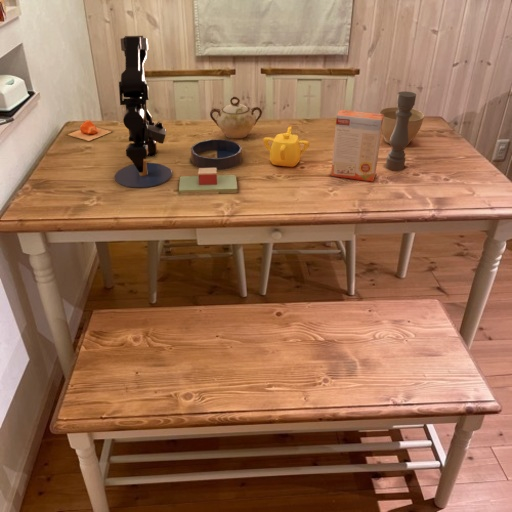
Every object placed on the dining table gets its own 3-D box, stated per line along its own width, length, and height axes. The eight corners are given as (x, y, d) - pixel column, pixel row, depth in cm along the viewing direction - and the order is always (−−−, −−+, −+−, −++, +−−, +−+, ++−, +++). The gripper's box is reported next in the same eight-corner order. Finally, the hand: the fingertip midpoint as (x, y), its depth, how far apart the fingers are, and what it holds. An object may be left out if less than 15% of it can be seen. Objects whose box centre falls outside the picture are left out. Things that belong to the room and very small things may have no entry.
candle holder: (405, 165, 179) (418, 92, 165) (401, 172, 175) (415, 98, 161) (387, 162, 181) (399, 90, 167) (383, 168, 177) (395, 95, 163)
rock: (89, 141, 195) (87, 130, 192) (66, 134, 200) (64, 124, 198) (112, 131, 203) (110, 121, 201) (90, 125, 208) (88, 115, 206)
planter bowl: (424, 139, 200) (429, 111, 194) (410, 152, 188) (416, 123, 182) (384, 130, 207) (388, 103, 201) (369, 143, 195) (373, 115, 189)
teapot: (258, 158, 183) (259, 130, 177) (289, 151, 189) (290, 123, 183) (279, 172, 173) (280, 143, 168) (310, 165, 179) (313, 136, 173)
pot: (191, 171, 173) (190, 159, 171) (192, 151, 188) (191, 139, 185) (242, 170, 175) (242, 158, 172) (240, 150, 189) (240, 138, 186)
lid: (111, 190, 161) (108, 173, 158) (119, 166, 176) (116, 149, 173) (170, 189, 163) (169, 171, 159) (173, 165, 178) (172, 148, 174)
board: (179, 194, 160) (178, 190, 159) (180, 180, 168) (180, 176, 167) (237, 192, 161) (237, 188, 160) (235, 178, 169) (235, 174, 168)
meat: (199, 185, 162) (198, 173, 160) (199, 179, 165) (198, 168, 163) (217, 184, 162) (216, 173, 160) (216, 179, 165) (216, 167, 163)
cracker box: (375, 175, 172) (384, 113, 161) (372, 182, 168) (382, 119, 156) (334, 169, 176) (340, 108, 164) (330, 176, 171) (336, 114, 160)
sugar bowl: (210, 142, 195) (209, 103, 186) (211, 128, 207) (209, 90, 199) (262, 142, 196) (263, 102, 187) (260, 128, 208) (260, 90, 200)
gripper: (161, 129, 151) (165, 178, 160) (165, 108, 167) (169, 154, 176) (122, 130, 151) (129, 179, 159) (130, 109, 166) (136, 154, 175)
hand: (142, 166), depth 167 cm, fingers open, 9 cm apart
